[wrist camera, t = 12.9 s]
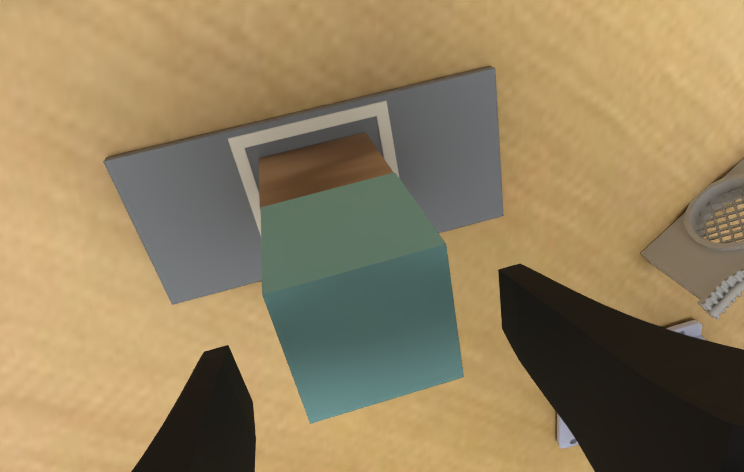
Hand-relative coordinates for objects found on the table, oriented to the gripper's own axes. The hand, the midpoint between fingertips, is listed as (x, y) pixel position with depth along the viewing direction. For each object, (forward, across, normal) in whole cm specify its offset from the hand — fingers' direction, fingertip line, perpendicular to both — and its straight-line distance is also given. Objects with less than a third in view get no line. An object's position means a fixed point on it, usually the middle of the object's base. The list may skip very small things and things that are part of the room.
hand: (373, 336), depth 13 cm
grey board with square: (+10, 0, 0) cm, 10 cm away
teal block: (+5, 0, 0) cm, 5 cm away
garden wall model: (+11, -21, +6) cm, 24 cm away
